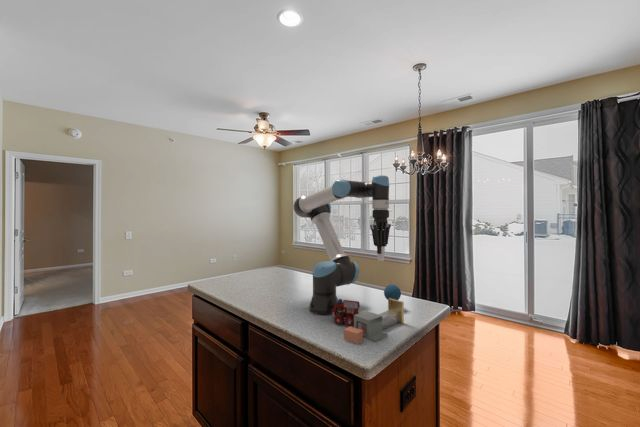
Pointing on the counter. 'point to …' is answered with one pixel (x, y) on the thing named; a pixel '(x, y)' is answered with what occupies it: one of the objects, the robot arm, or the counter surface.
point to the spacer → (353, 334)
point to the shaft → (389, 315)
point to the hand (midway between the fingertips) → (380, 260)
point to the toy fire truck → (345, 312)
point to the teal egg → (392, 292)
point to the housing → (370, 325)
